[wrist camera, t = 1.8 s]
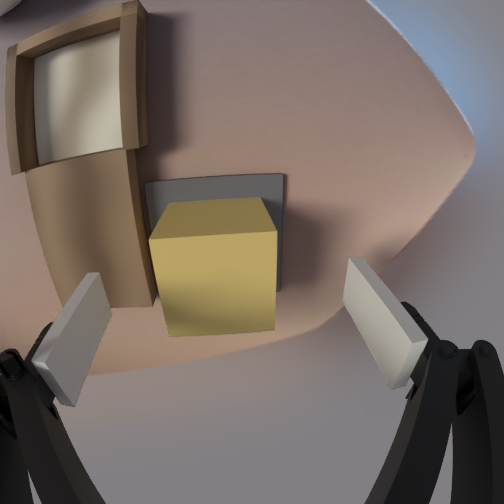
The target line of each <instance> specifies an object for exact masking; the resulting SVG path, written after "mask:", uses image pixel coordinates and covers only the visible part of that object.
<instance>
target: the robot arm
mask: <svg viewBox="0 0 504 504" xmlns="http://www.w3.org/2000/svg"><path fill="white" fill-rule="evenodd" d="M342 302H343V304H344V305H345V307H346V309H347V311H348V312H349V314H350V316H351V317H352V319H353V321H354V323H355V324H356V326H357V328H358V330H359V332H360V333H361V335H362V337H363V339H364V341H365V343H366V344H367V346H368V348H369V350H370V352H371V353H372V356H373V357H374V359H375V361H376V363H377V365H378V367H379V369H380V371H381V372H382V374H383V376H384V378H385V380H386V382H387V384H388V386H389V388H390V390H393V389H396V388H400V387H403V386H406V384H407V382H408V380H409V378H410V377H411V379H412V380H413V382H414V384H413V386H412V388H411V389H410V391H409V393H408V394H407V396H406V399H408V401H407V404H406V407H405V410H404V413H403V416H402V419H401V422H400V425H399V428H398V430H397V433H396V436H395V438H394V441H393V443H392V446H391V449H390V451H389V453H388V456H387V458H386V460H385V463H384V465H383V467H382V469H381V471H380V474H379V476H378V478H377V480H376V482H375V484H374V486H373V488H372V490H371V492H370V494H369V496H368V498H367V500H366V502H365V504H429V502H430V499H431V497H432V494H433V491H434V488H435V485H436V482H437V479H438V476H439V473H440V469H441V466H442V462H443V458H444V454H445V451H446V447H447V442H448V438H449V433H450V429H451V424H452V434H453V473H452V491H451V502H450V504H504V374H503V371H502V367H501V364H500V361H499V358H498V355H497V352H496V349H495V348H494V346H493V345H492V344H491V343H489V342H487V341H485V340H477V341H476V342H475V343H474V344H473V346H472V348H471V349H458V347H457V346H456V345H455V344H453V343H452V342H450V341H447V340H440V339H439V338H438V336H437V335H436V334H435V333H434V331H433V330H432V329H431V327H430V326H429V325H428V324H427V322H425V321H424V319H423V317H422V316H420V314H419V313H418V312H417V310H416V309H415V308H414V307H413V306H411V305H410V304H408V303H407V302H399V301H398V300H397V298H396V297H395V296H394V295H393V294H392V292H391V291H390V290H389V288H388V287H387V286H386V285H385V284H384V282H383V281H382V280H381V279H380V278H379V277H378V275H377V274H376V273H375V272H374V271H373V269H372V268H371V267H370V266H369V265H368V264H367V263H366V261H365V260H364V259H363V258H362V257H354V258H349V260H348V267H347V274H346V280H345V286H344V292H343V298H342ZM111 316H112V311H111V308H110V305H109V302H108V299H107V296H106V293H105V290H104V286H103V283H102V280H101V276H100V273H99V272H93V273H87V274H86V275H85V277H84V278H83V280H82V281H81V282H80V284H79V285H78V287H77V288H76V289H75V291H74V292H73V294H72V295H71V297H70V298H69V300H68V301H67V303H66V304H65V306H64V307H63V309H62V310H61V312H60V313H59V315H58V316H57V318H56V319H55V321H54V322H50V323H49V324H48V325H47V326H46V327H45V328H44V329H43V330H42V332H41V333H40V335H39V338H37V340H36V341H35V344H34V345H33V346H32V348H31V350H30V351H29V353H28V355H27V357H26V358H25V360H24V361H23V359H22V357H21V356H20V354H19V352H18V351H17V350H16V349H7V350H5V351H3V352H2V353H1V354H0V373H1V374H2V375H1V376H0V504H34V503H33V499H32V493H31V488H30V482H29V477H28V471H29V474H30V477H31V479H32V482H33V484H34V487H35V489H36V492H37V494H38V496H39V498H40V501H41V503H42V504H106V503H105V502H104V500H103V498H102V497H101V495H100V494H99V492H98V491H97V489H96V487H95V486H94V484H93V482H92V481H91V479H90V477H89V475H88V474H87V472H86V470H85V468H84V467H83V465H82V463H81V461H80V459H79V457H78V455H77V453H76V451H75V449H74V447H73V445H72V443H71V441H70V439H69V437H68V434H67V432H66V430H65V428H64V426H63V423H62V421H61V418H60V416H59V413H58V411H57V408H56V407H55V405H54V403H53V400H54V398H55V397H56V398H57V399H58V401H59V402H60V403H61V404H62V405H66V406H72V407H75V405H76V403H77V400H78V397H79V394H80V391H81V389H82V386H83V383H84V381H85V378H86V375H87V373H88V370H89V368H90V365H91V363H92V360H93V358H94V355H95V353H96V350H97V348H98V346H99V343H100V341H101V339H102V336H103V334H104V332H105V329H106V327H107V325H108V323H109V321H110V318H111ZM27 469H28V470H27Z"/></svg>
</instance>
